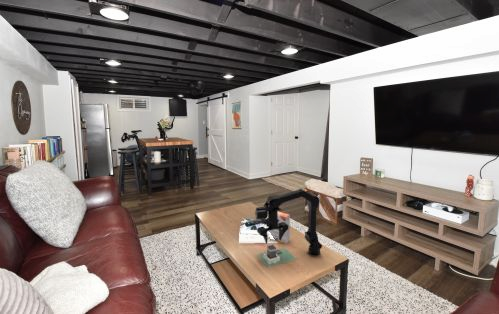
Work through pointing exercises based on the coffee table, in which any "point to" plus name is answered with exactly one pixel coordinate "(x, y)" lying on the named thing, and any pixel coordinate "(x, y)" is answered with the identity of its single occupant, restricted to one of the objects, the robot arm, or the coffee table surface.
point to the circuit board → (277, 258)
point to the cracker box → (275, 233)
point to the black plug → (271, 251)
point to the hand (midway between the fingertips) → (273, 241)
